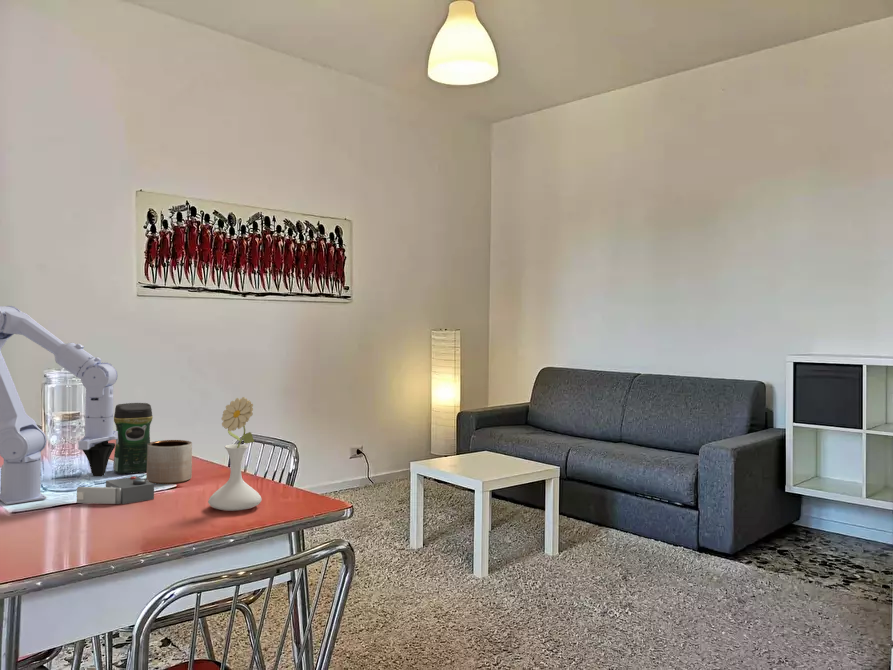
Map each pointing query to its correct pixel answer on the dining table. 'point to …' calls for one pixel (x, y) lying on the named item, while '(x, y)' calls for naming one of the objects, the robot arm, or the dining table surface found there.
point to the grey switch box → (133, 489)
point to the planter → (169, 461)
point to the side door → (99, 495)
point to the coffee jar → (132, 437)
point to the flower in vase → (236, 461)
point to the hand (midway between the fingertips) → (98, 475)
